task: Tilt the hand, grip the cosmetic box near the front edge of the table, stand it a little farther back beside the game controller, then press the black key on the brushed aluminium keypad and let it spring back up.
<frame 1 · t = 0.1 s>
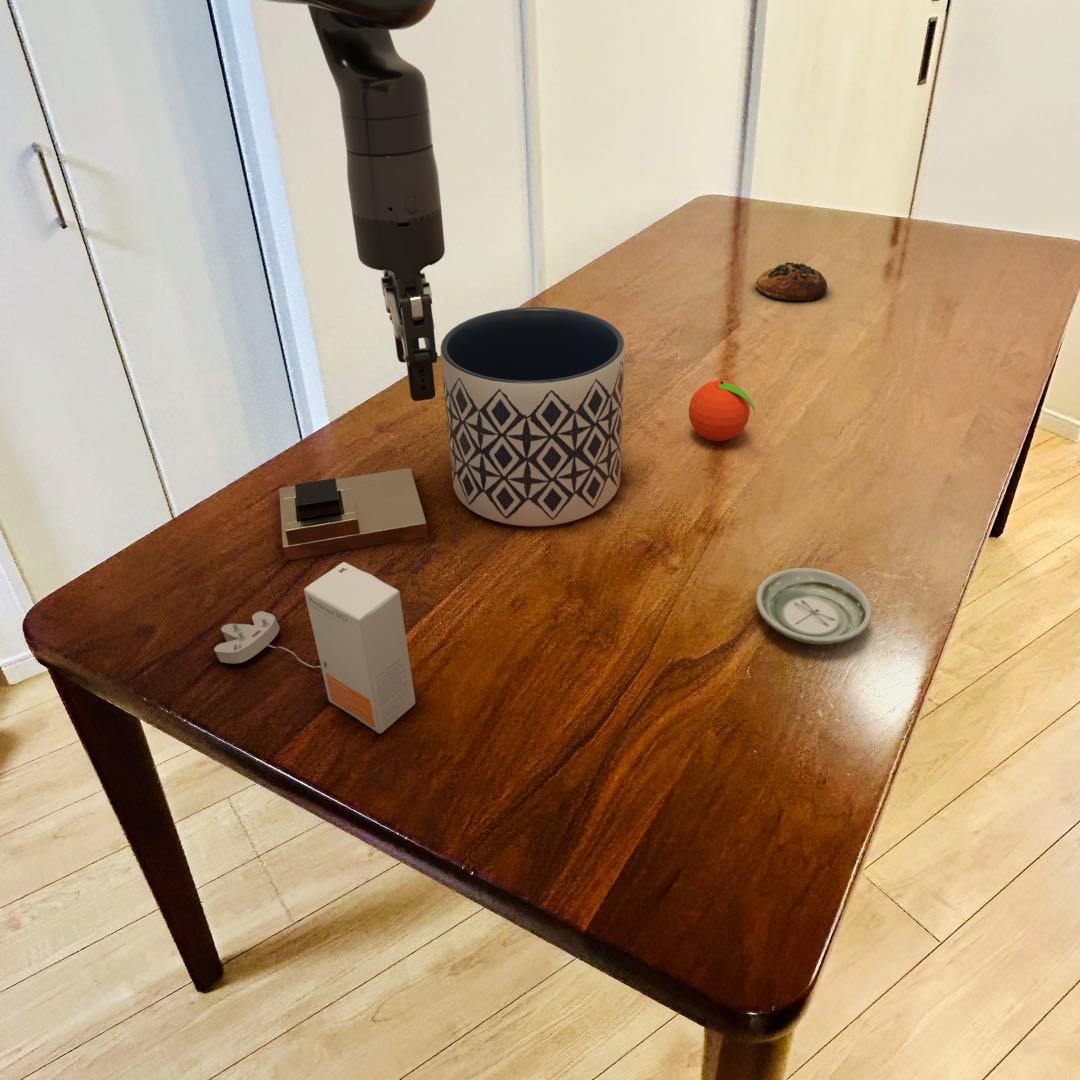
hand: (416, 378, 85), 15 cm above the table, tool pointing down, fingers open, 8 cm apart
game controller: (276, 661, 77), on the table
bread roll: (790, 291, 143), on the table
planter: (536, 484, 98), on the table
cosmetic box: (373, 705, 72), on the table
key: (318, 500, 89), point 4 cm above the table, slide at 0.1 cm
keypad: (352, 518, 94), on the table
clementine: (720, 440, 105), on the table
saucer: (808, 624, 79), on the table
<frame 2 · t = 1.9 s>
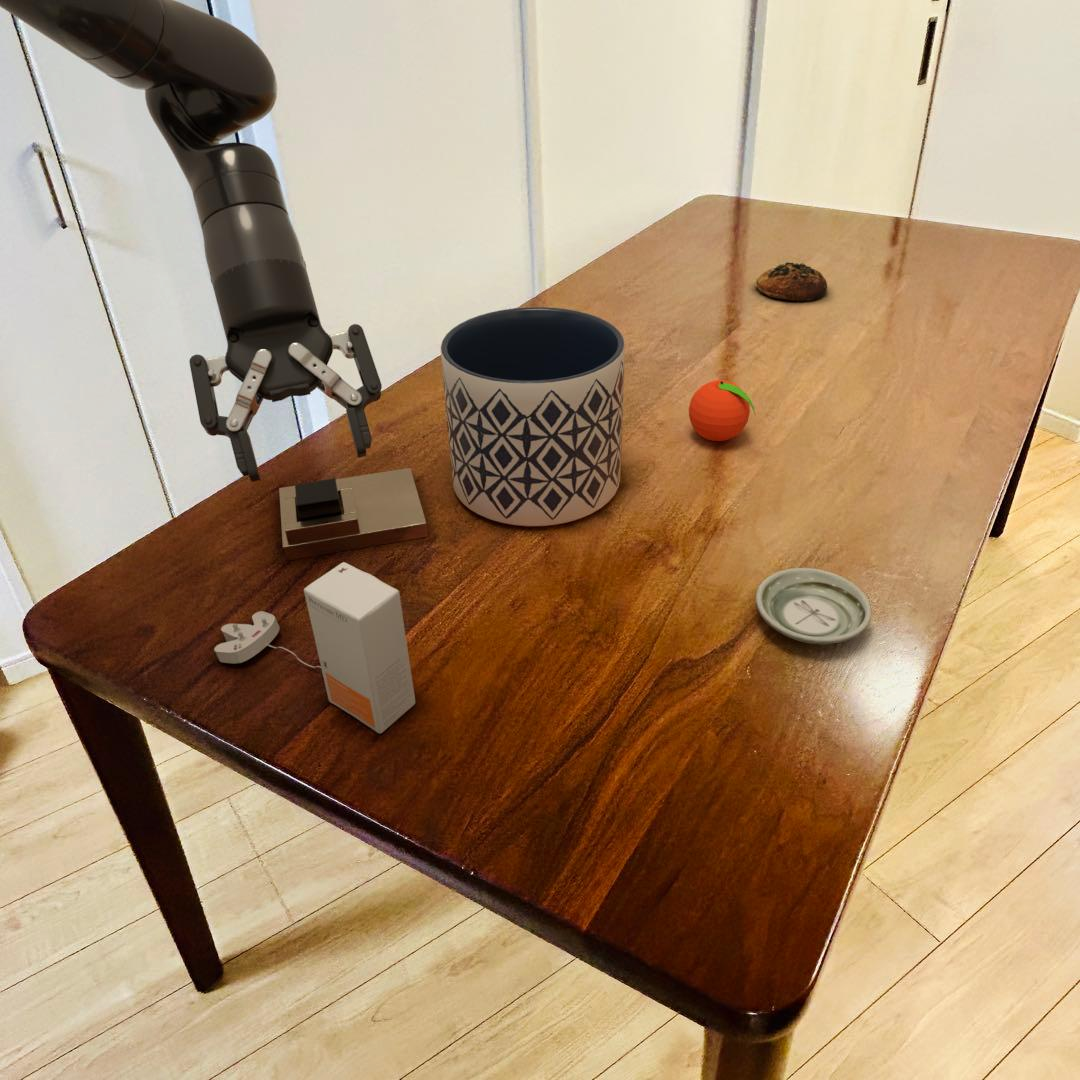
hand: (309, 467, 72), 16 cm above the table, tool tilted 45°, fingers open, 8 cm apart
nothing on the table moved.
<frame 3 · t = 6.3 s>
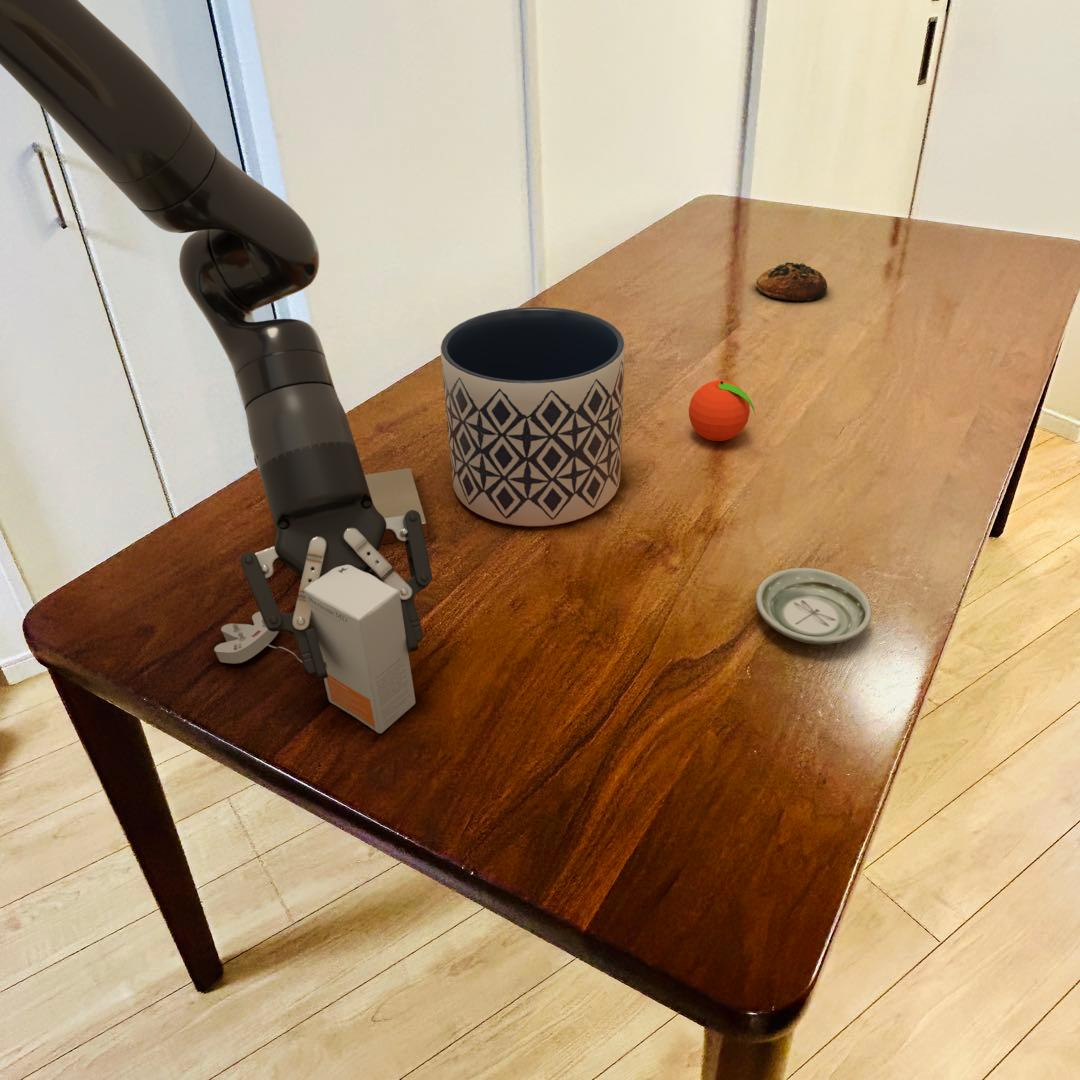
hand: (368, 663, 68), 6 cm above the table, tool tilted 45°, fingers closed on cosmetic box, 6 cm apart
cosmetic box: (373, 705, 72), on the table, touching gripper
everything else where it was.
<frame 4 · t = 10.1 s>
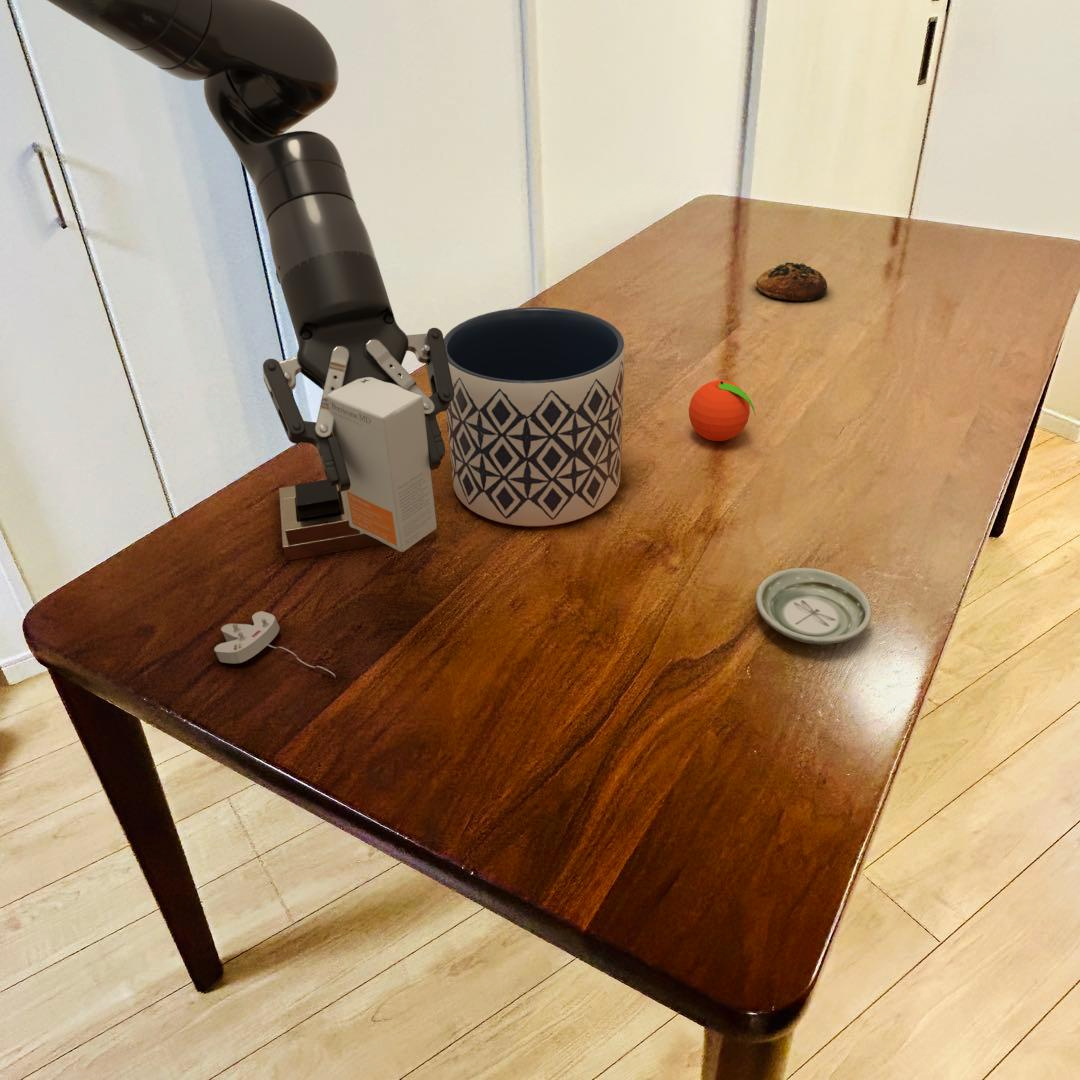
hand: (391, 476, 67), 17 cm above the table, tool tilted 45°, fingers closed on cosmetic box, 6 cm apart
cosmetic box: (394, 530, 72), point 11 cm above the table, touching gripper
everything else where it was.
when the fingers open (6 cm above the table, at t = 13.9 s): cosmetic box stays where it is, on the table.
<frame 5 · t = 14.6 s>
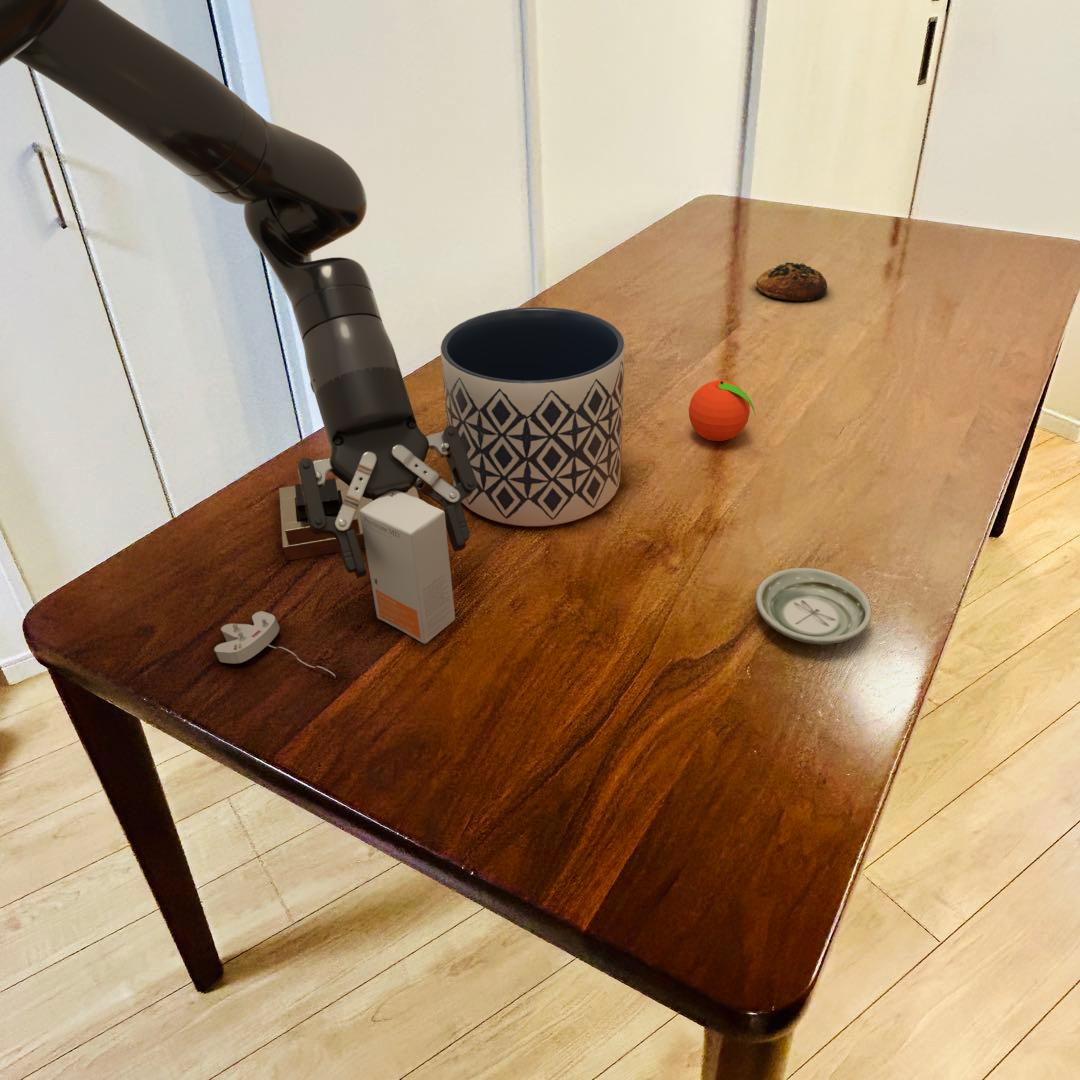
hand: (412, 562, 75), 7 cm above the table, tool tilted 45°, fingers open, 8 cm apart
cosmetic box: (416, 621, 80), on the table
everything else where it was.
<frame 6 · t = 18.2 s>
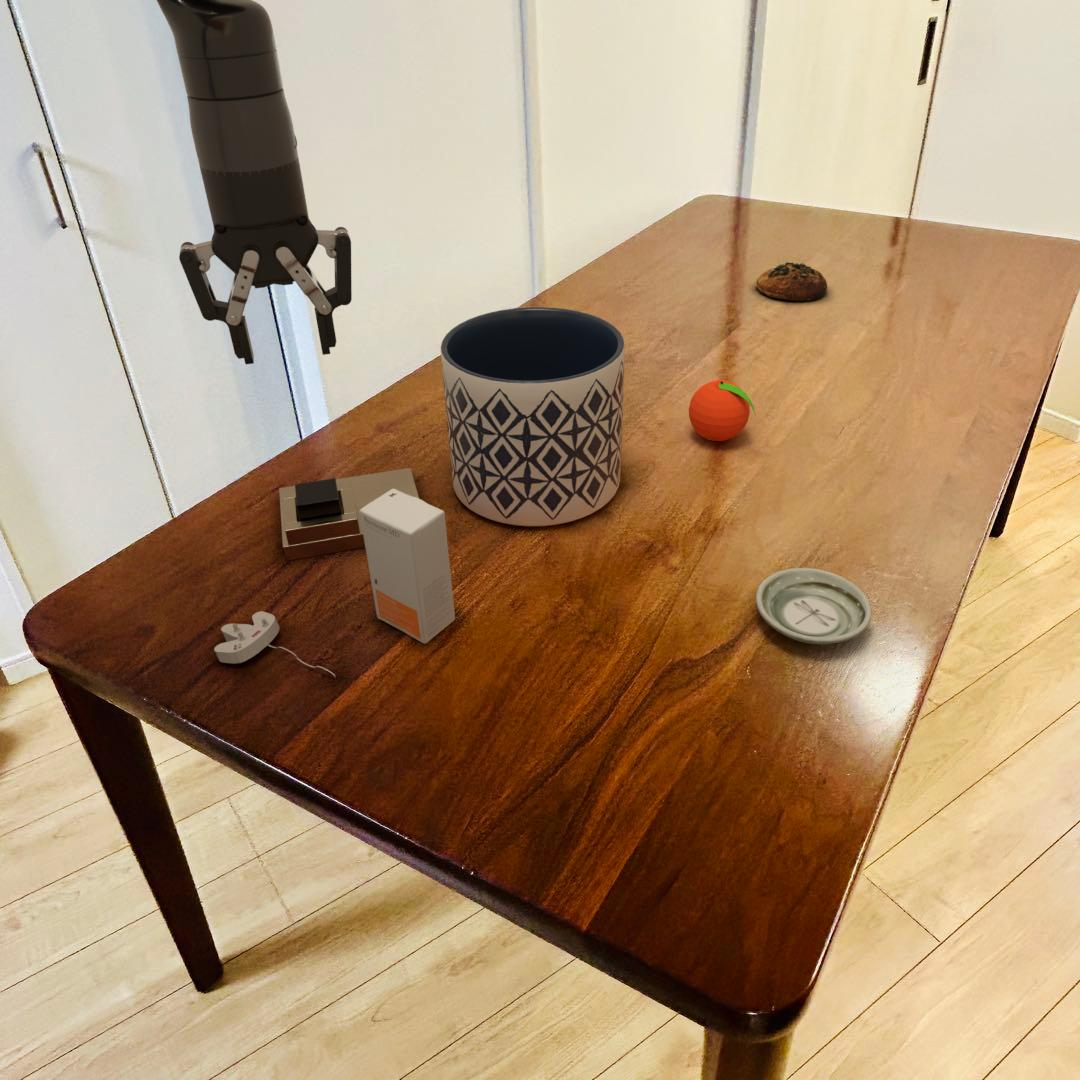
hand: (288, 355, 80), 20 cm above the table, tool pointing down, fingers open, 6 cm apart
nothing on the table moved.
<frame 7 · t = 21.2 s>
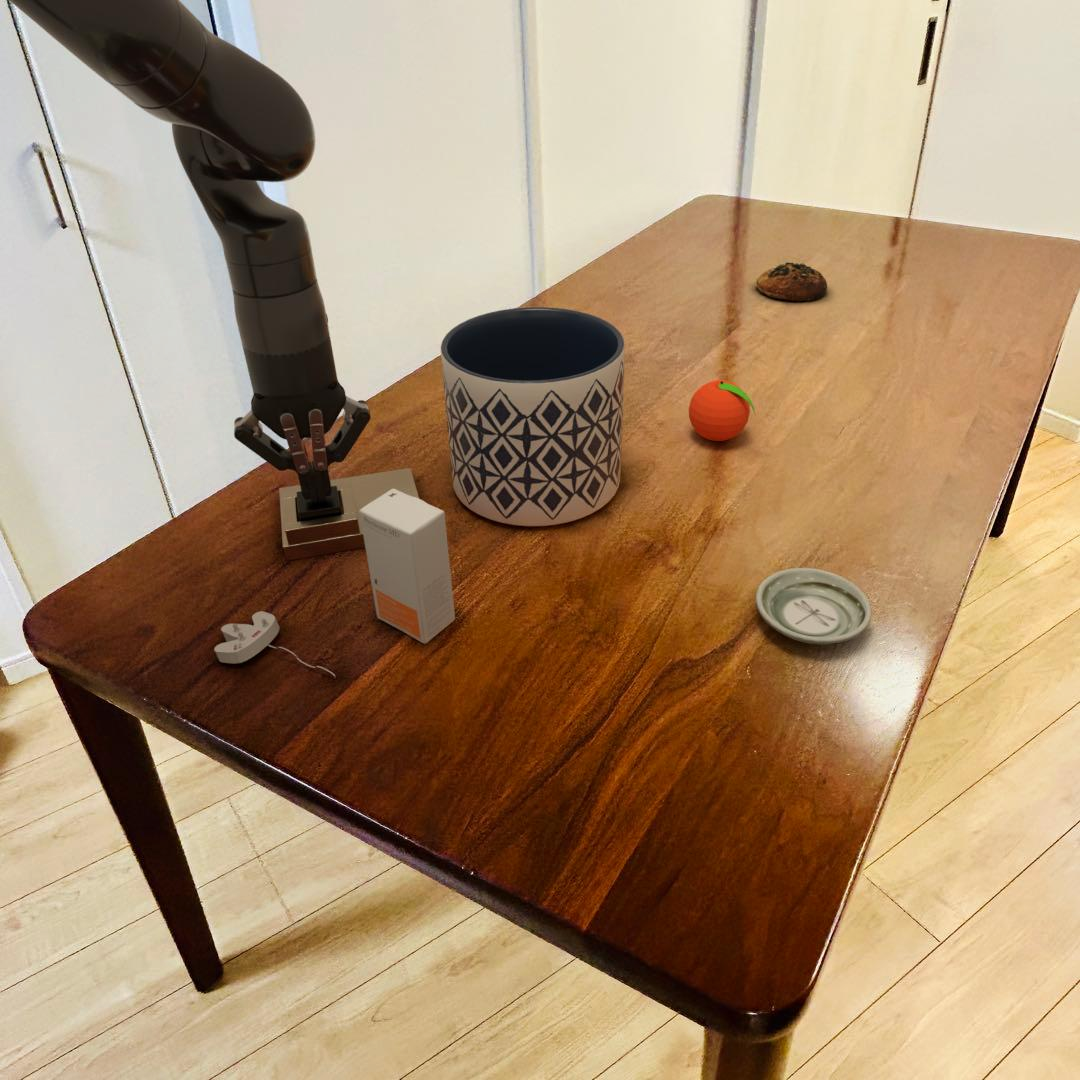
hand: (318, 498, 89), 4 cm above the table, tool pointing down, fingers closed
key: (319, 507, 89), point 3 cm above the table, slide at -0.8 cm, touching gripper
everything else where it was.
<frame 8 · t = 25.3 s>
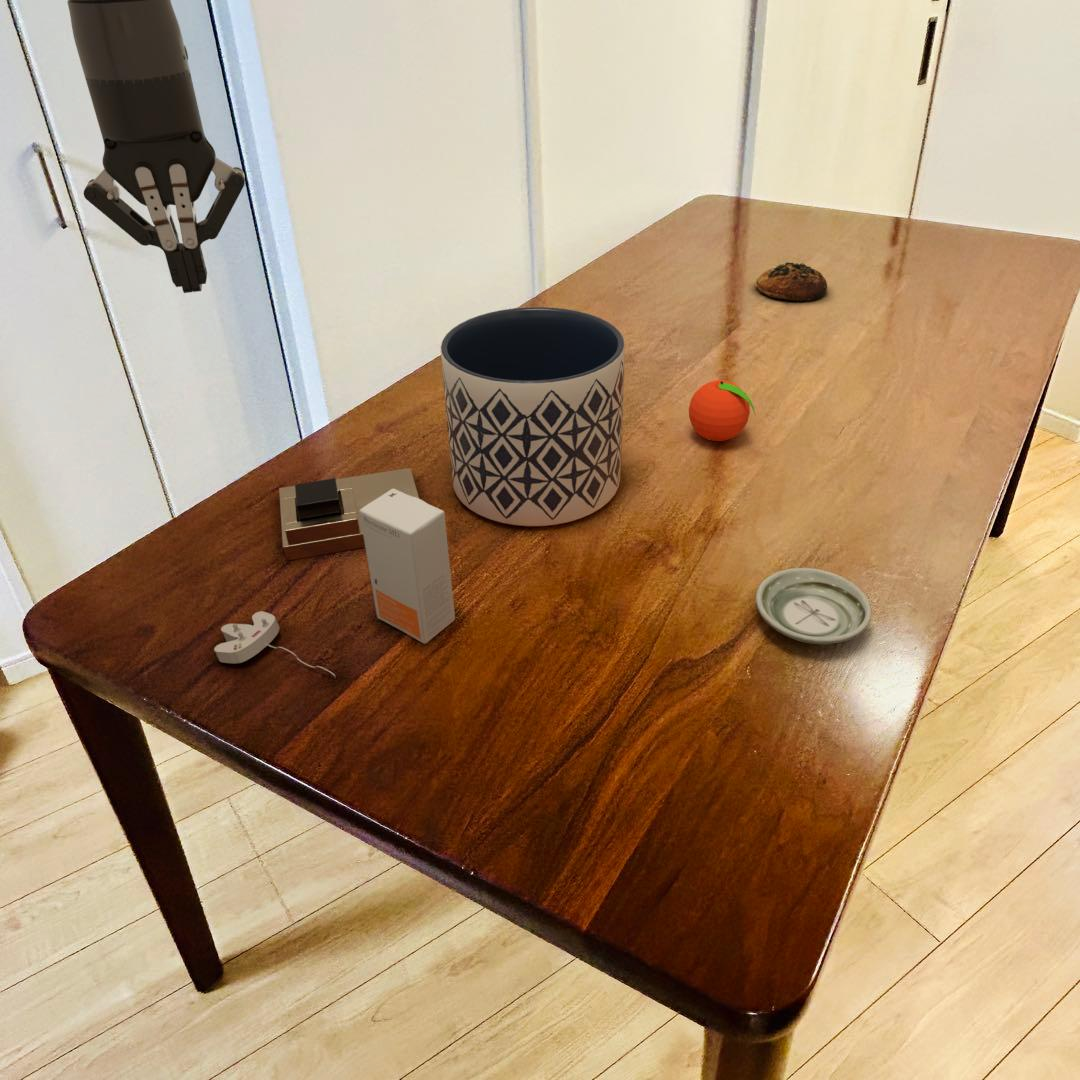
hand: (193, 289, 78), 25 cm above the table, tool pointing down, fingers closed
key: (318, 500, 89), point 4 cm above the table, slide at 0.1 cm
everything else where it was.
at the end: key pushed in 1.1 cm at the most during the clip, back to where it started at the end; key slide at 0.1 cm; cosmetic box 0.1 cm from the target spot, on the table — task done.
